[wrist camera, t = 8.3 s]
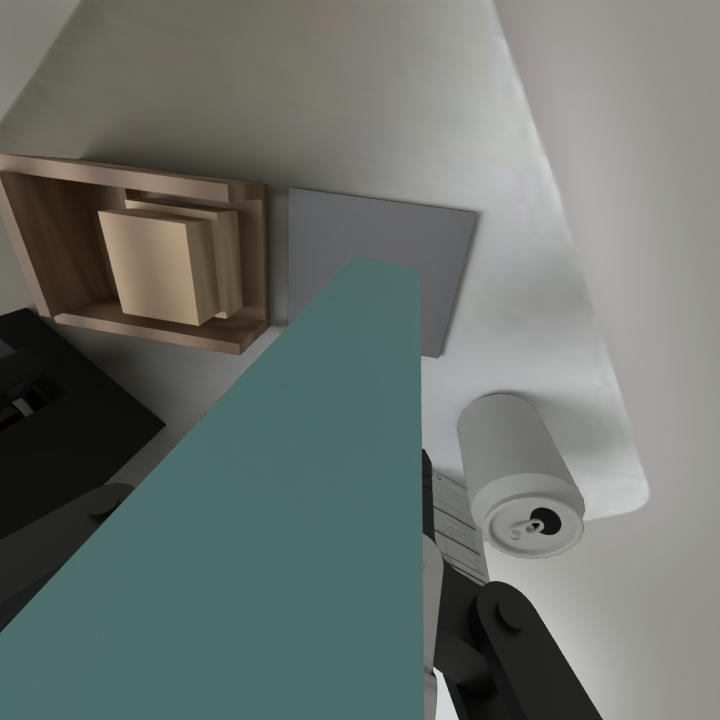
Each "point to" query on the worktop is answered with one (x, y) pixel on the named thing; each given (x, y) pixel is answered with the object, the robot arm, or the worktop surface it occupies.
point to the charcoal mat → (377, 249)
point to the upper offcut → (162, 264)
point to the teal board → (258, 544)
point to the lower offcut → (223, 242)
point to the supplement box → (457, 530)
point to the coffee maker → (58, 423)
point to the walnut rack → (89, 251)
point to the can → (518, 479)
